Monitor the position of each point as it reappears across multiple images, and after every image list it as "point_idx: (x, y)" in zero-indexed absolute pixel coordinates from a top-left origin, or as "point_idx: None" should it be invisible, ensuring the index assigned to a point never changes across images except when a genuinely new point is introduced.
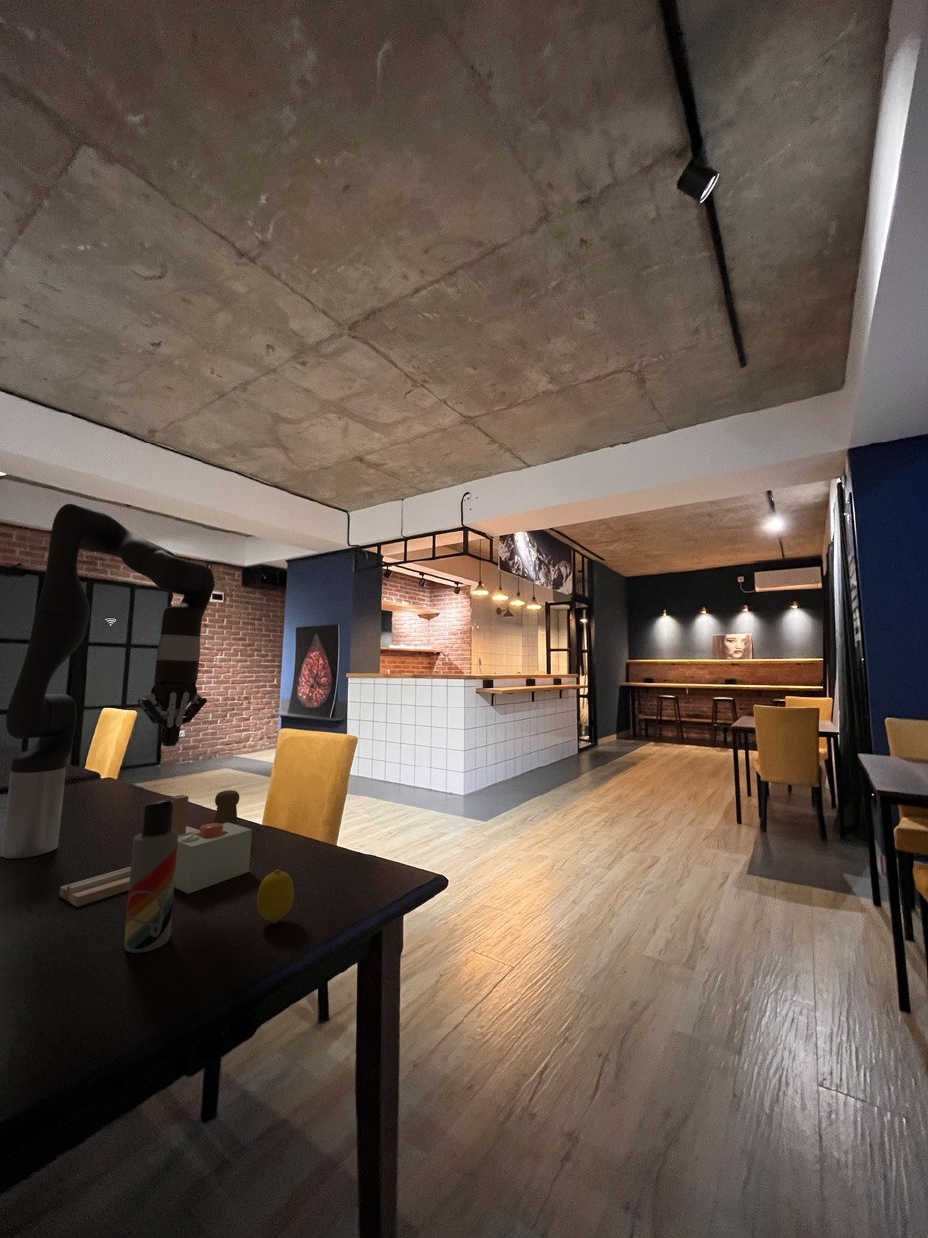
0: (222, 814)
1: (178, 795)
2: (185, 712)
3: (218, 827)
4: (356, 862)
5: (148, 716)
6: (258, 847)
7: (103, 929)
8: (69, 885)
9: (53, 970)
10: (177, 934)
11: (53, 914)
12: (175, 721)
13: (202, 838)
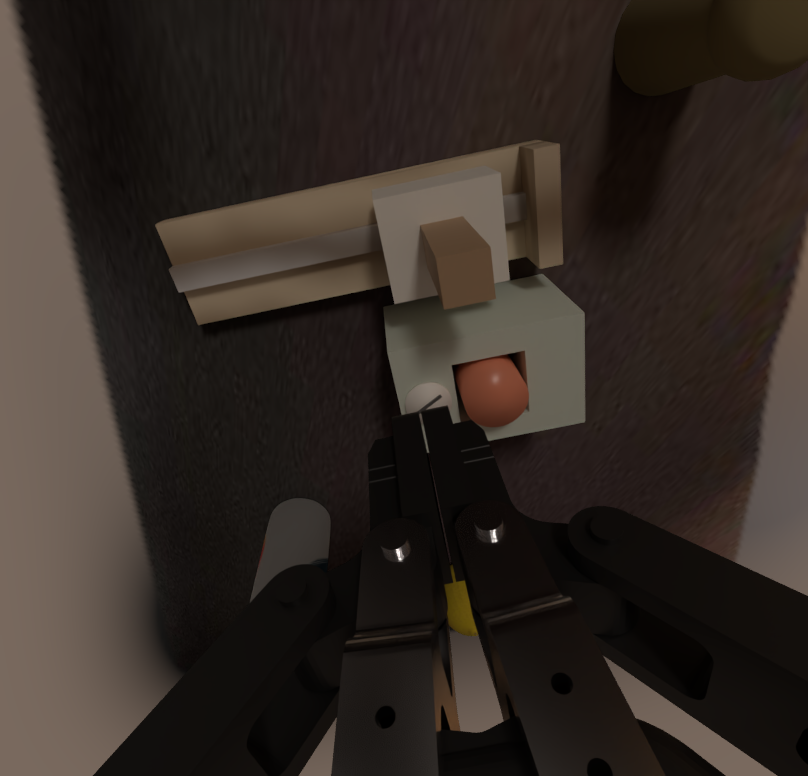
0: (692, 60)
1: (472, 253)
2: (668, 619)
3: (503, 422)
4: (718, 459)
5: (204, 674)
6: (674, 212)
7: (248, 442)
8: (173, 270)
9: (185, 515)
10: (342, 519)
11: (163, 323)
12: (475, 624)
13: (455, 414)
